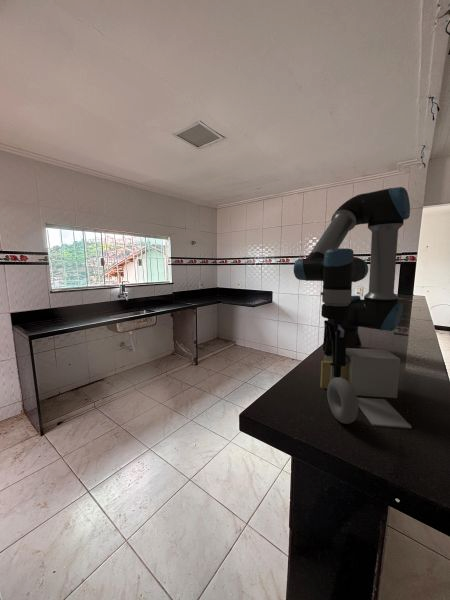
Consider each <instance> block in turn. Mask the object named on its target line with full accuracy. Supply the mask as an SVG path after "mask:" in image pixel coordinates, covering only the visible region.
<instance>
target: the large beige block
mask: <svg viewBox="0 0 450 600" xmlns="http://www.w3.org/2000/svg"><path fill="white" fill-rule="evenodd" d="M346 362H347V363H349V370H348V382H349V383H350V384H351V385H352V387H353V389H354V391H355V393H356V396H357V397H359V396H360V397H373V398H376V397H377V398H388V399H389V398H390V399H392V398H393V399H398V393H399V392H398V391H399V381H400V380H399V378H400V367H401V358H400V357H398V356H396V355H394V354H393V353H392V352H390V351H388V350H387V349H379V348H378V349H377V348H376V349H375V348H361V349H355V348H346Z"/></svg>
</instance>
